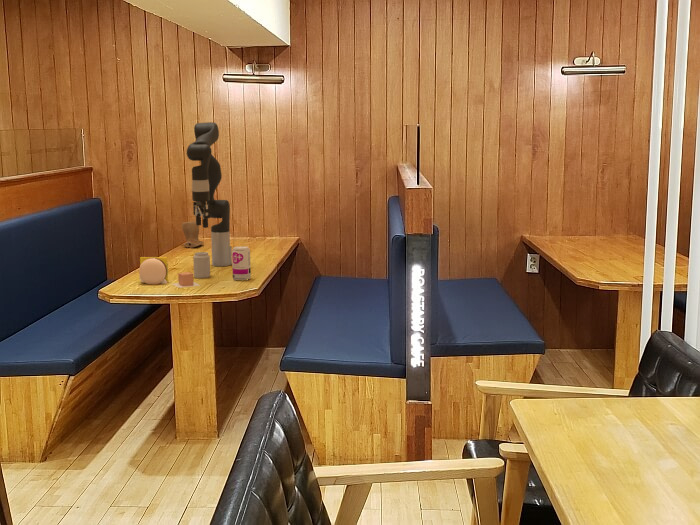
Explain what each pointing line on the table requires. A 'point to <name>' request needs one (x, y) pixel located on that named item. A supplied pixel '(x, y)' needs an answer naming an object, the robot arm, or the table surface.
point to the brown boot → (191, 234)
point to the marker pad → (185, 286)
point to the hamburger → (153, 270)
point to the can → (201, 265)
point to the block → (185, 279)
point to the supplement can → (241, 263)
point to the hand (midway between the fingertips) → (202, 226)
